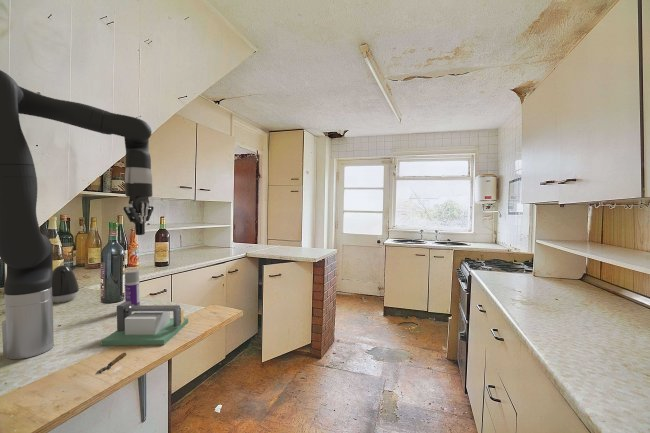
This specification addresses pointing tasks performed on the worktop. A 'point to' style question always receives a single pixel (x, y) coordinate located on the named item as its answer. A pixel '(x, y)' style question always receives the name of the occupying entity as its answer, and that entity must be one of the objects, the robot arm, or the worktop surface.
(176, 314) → the strap
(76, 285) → the black tall dome
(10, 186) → the robot arm
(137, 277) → the container
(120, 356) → the can opener
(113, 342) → the cpu board
